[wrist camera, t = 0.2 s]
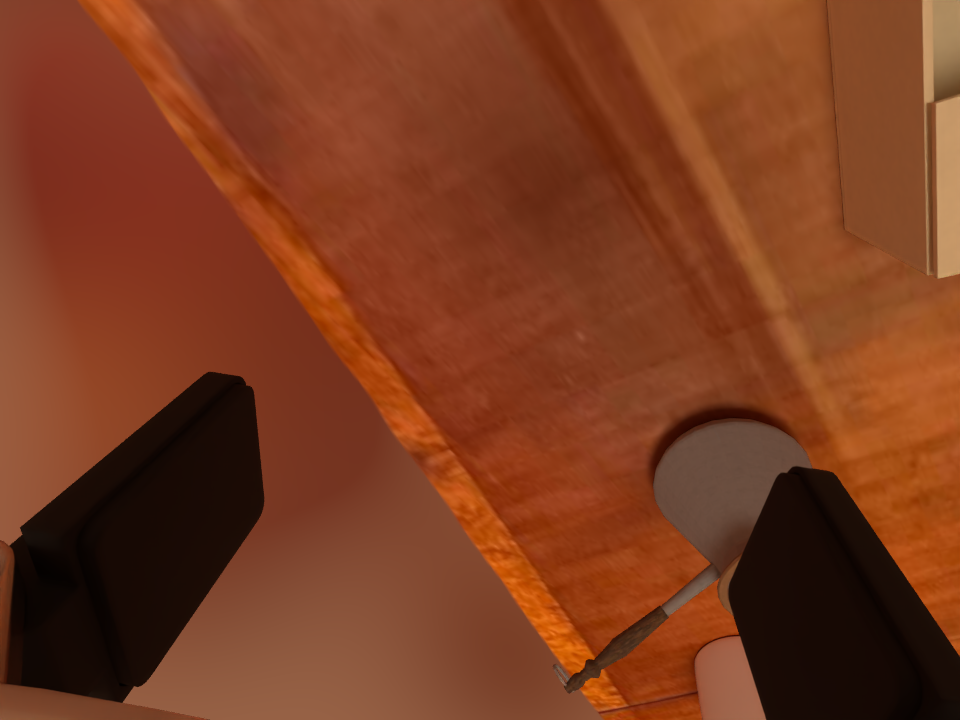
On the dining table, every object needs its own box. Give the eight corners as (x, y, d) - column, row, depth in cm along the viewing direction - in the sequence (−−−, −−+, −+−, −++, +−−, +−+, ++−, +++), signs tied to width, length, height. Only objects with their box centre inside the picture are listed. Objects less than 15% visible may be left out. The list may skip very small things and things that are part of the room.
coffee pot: (758, 375, 42) (848, 516, 28) (823, 481, 45) (931, 650, 32) (523, 491, 50) (508, 644, 36) (593, 574, 53) (603, 741, 40)
